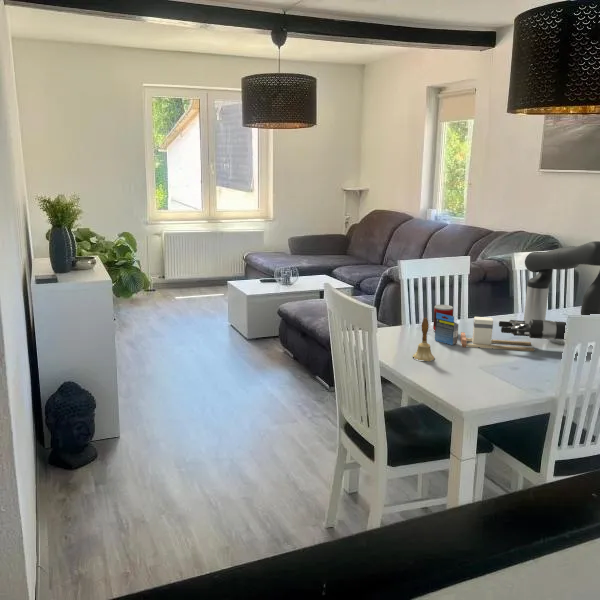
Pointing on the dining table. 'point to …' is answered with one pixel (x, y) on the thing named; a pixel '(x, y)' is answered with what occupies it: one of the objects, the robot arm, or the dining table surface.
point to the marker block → (482, 330)
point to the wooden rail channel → (464, 344)
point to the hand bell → (424, 345)
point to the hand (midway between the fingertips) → (500, 326)
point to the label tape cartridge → (446, 329)
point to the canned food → (442, 312)
